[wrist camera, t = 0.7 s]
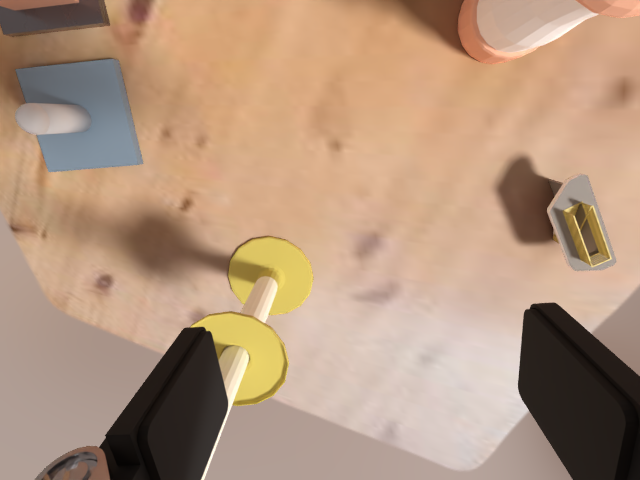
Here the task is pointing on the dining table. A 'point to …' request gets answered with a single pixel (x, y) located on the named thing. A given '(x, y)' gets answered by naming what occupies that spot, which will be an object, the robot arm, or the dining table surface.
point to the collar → (33, 3)
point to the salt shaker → (527, 24)
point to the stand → (54, 18)
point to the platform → (579, 225)
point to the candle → (257, 319)
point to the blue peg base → (79, 115)
